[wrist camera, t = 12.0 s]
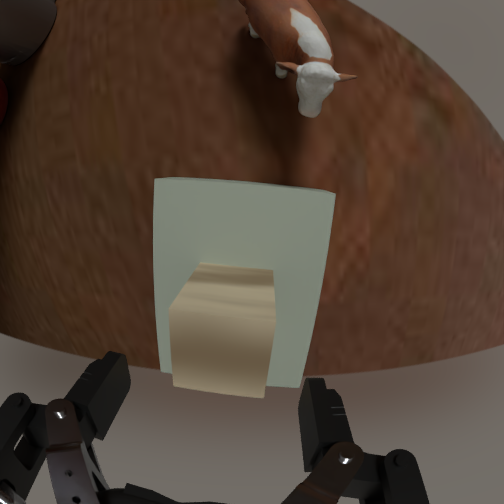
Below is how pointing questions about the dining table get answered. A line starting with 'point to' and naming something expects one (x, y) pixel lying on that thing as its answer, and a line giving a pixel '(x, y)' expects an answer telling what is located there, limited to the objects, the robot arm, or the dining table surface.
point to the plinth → (245, 253)
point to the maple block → (223, 330)
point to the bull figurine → (297, 47)
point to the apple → (3, 100)
